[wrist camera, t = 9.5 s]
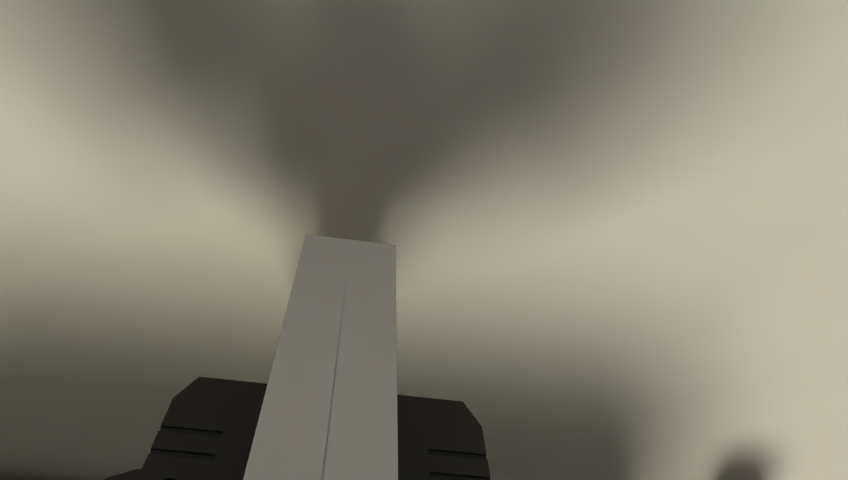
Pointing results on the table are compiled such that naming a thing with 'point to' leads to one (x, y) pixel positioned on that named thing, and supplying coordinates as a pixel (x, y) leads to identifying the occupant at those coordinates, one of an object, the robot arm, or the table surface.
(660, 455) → the table surface
